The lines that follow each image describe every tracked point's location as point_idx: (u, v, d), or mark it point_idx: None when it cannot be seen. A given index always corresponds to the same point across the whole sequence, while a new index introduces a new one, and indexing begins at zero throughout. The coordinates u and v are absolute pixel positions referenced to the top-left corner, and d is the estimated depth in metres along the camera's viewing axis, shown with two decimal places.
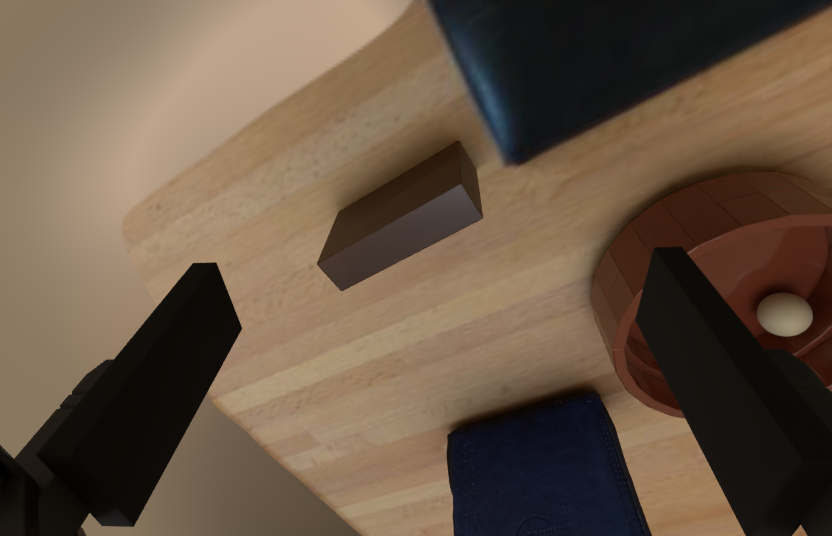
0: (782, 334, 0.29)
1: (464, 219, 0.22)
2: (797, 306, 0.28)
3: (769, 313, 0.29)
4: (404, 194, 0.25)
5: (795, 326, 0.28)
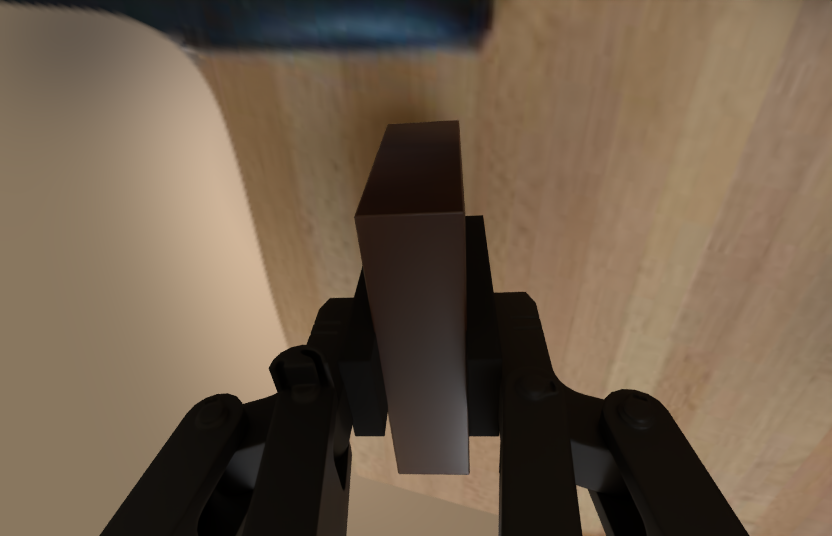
0: None
1: (444, 248, 0.09)
2: None
3: None
4: None
5: None
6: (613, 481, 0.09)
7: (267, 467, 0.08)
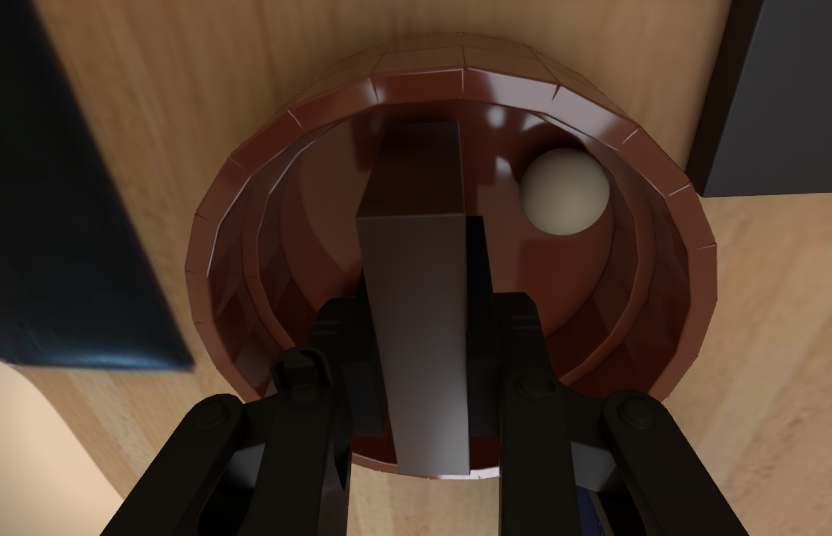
0: (594, 220, 0.14)
1: (445, 250, 0.09)
2: (548, 185, 0.14)
3: (543, 227, 0.15)
4: None
5: (584, 206, 0.14)
6: (613, 481, 0.09)
7: (267, 467, 0.08)
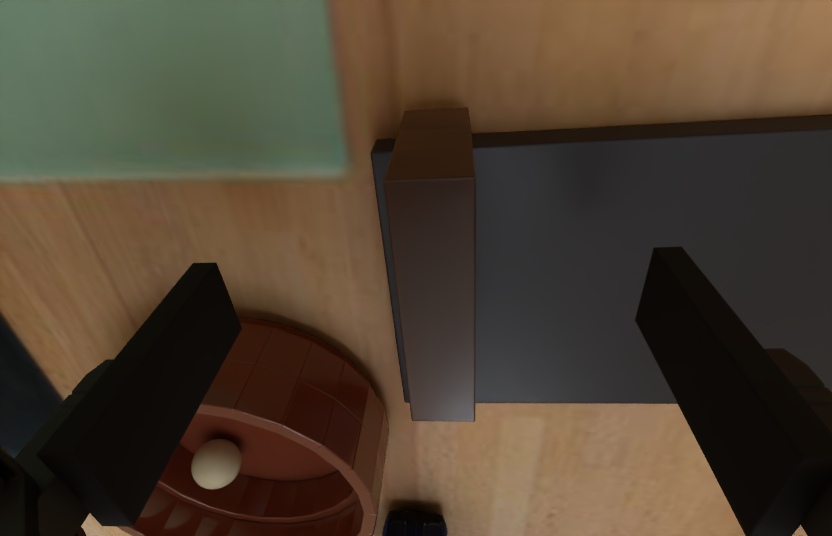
0: None
1: (457, 209, 0.11)
2: None
3: None
4: None
5: None
6: None
7: None
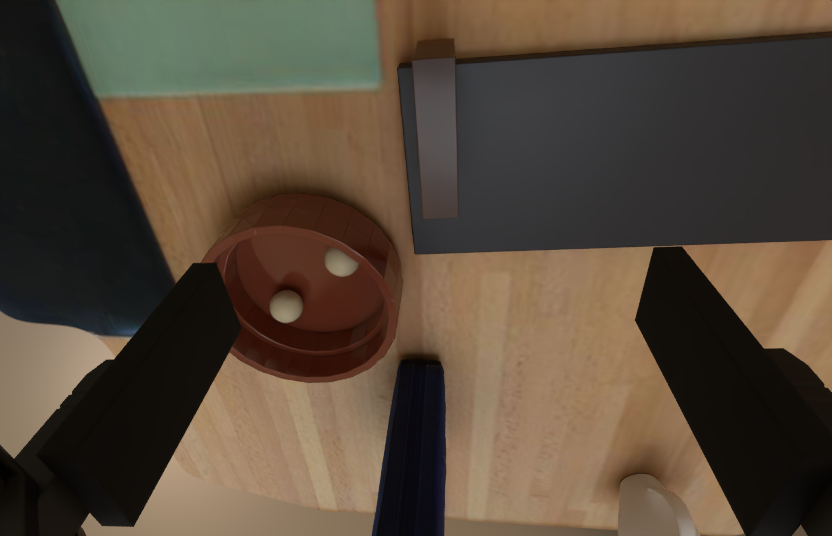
0: (345, 275, 0.36)
1: (447, 75, 0.23)
2: (325, 259, 0.35)
3: None
4: None
5: (334, 271, 0.35)
6: None
7: None
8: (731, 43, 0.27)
